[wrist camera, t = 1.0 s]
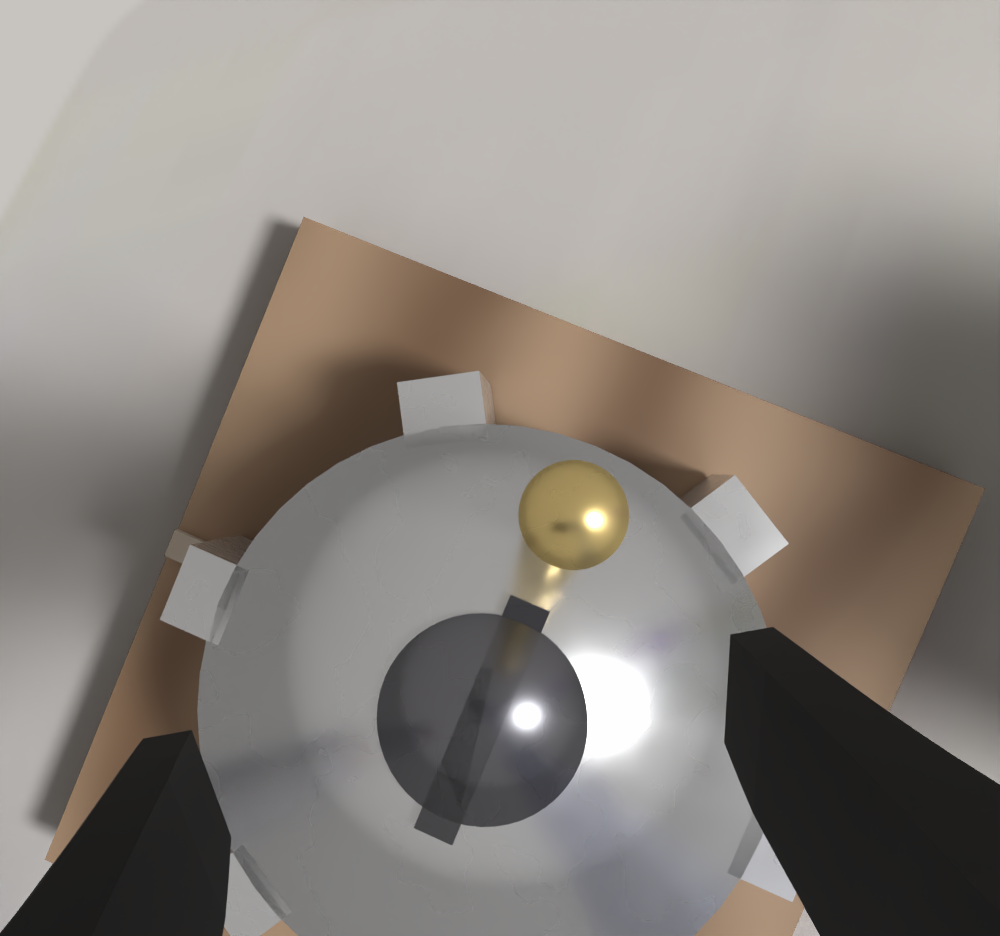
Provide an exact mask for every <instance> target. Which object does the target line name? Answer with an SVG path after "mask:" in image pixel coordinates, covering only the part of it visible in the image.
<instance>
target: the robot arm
mask: <svg viewBox="0 0 1000 936" xmlns="http://www.w3.org/2000/svg"><path fill="white" fill-rule="evenodd" d="M724 744H725V746H726V749H727V751H728V754H729V756H730V759H731V762H732V764H733V767H734V769H735V772H736V774H737V777H738V779H739V782H740V784H741V786H742V789H743V791H744V794H745V796H746V798H747V801H748V803H749V805H750V808H751V810H752V812H753V814H754V816H755V818H756V820H757V822H758V824H759V826H760V828H761V829H762V831H763V833H764V835H765V837H766V839H767V840H768V842H769V844H770V846H771V848H772V850H773V851H774V853H775V855H776V857H777V859H778V861H779V862H780V864H781V866H782V868H783V870H784V871H785V873H786V875H787V877H788V879H789V880H790V882H791V884H792V886H793V888H794V889H795V891H796V893H797V895H798V897H799V898H800V900H801V902H802V904H803V906H804V907H805V909H806V911H807V913H808V915H809V916H810V918H811V920H812V922H813V924H814V925H815V927H816V929H817V931H818V933H819V934H820V936H1000V785H999V784H998V783H996V782H995V781H993V780H991V779H990V778H988V777H987V776H985V775H983V774H982V773H980V772H979V771H977V770H976V769H974V768H972V767H971V766H969V765H968V764H966V763H964V762H963V761H961V760H960V759H958V758H957V757H955V756H953V755H952V754H950V753H949V752H947V751H946V750H944V749H943V748H941V747H940V746H938V745H937V744H935V743H934V742H932V741H931V740H929V739H928V738H926V737H925V736H923V735H922V734H920V733H919V732H917V731H916V730H914V729H913V728H911V727H910V726H909V725H907V724H906V723H904V722H903V721H901V720H900V719H898V718H897V717H896V716H894V715H893V714H891V713H890V712H888V711H887V710H886V709H884V708H883V707H881V706H880V705H879V704H877V703H876V702H874V701H873V700H872V699H870V698H869V697H867V696H866V695H865V694H863V693H862V692H861V691H859V690H858V689H856V688H855V687H854V686H852V685H851V684H850V683H848V682H847V681H846V680H844V679H843V678H841V677H840V676H839V675H837V674H836V673H835V672H833V671H832V670H831V669H829V668H828V667H827V666H825V665H824V664H823V663H821V662H820V661H819V660H817V659H816V658H815V657H813V656H812V655H811V654H809V653H808V652H807V651H805V650H804V649H803V648H801V647H800V646H799V645H797V644H796V643H795V642H793V641H792V640H790V639H789V638H788V637H786V636H785V635H784V634H782V633H781V632H780V631H778V630H777V629H775V628H774V627H769V628H763V629H758V630H752V631H746V632H741V633H735V634H730V648H729V666H728V683H727V700H726V718H725V735H724ZM230 850H231V834H230V832H229V829H228V826H227V824H226V821H225V818H224V815H223V813H222V810H221V807H220V805H219V802H218V799H217V797H216V794H215V791H214V789H213V786H212V783H211V781H210V778H209V775H208V772H207V770H206V767H205V764H204V762H203V759H202V756H201V754H200V751H199V748H198V746H197V743H196V740H195V737H194V735H193V732H192V730H188V731H183V732H177V733H171V734H166V735H160V736H154V737H149V738H143V739H142V741H141V742H140V743H139V744H138V746H137V747H136V748H135V750H134V751H133V752H132V754H131V755H130V757H129V758H128V759H127V761H126V762H125V764H124V765H123V766H122V768H121V769H120V771H119V772H118V773H117V775H116V776H115V778H114V779H113V781H112V782H111V783H110V785H109V786H108V788H107V789H106V791H105V792H104V793H103V795H102V796H101V798H100V799H99V801H98V802H97V803H96V805H95V806H94V808H93V809H92V811H91V812H90V813H89V815H88V816H87V818H86V819H85V820H84V822H83V823H82V825H81V826H80V827H79V829H78V830H77V832H76V833H75V834H74V836H73V837H72V839H71V840H70V841H69V843H68V844H67V845H66V847H65V848H64V850H63V851H62V852H61V854H60V855H59V856H58V858H57V859H56V860H55V862H54V863H53V864H52V866H51V867H50V869H49V870H48V871H47V873H46V874H45V875H44V877H43V878H42V879H41V881H40V882H39V883H38V885H37V886H36V887H35V889H34V890H33V892H32V893H31V894H30V896H29V897H28V898H27V900H26V901H25V902H24V904H23V905H22V906H21V907H20V909H19V910H18V911H17V913H16V914H15V915H14V917H13V918H12V919H11V920H10V922H9V923H8V924H7V925H6V927H5V928H4V929H3V930H2V932H1V933H0V936H222V935H223V929H224V924H225V918H226V906H227V894H228V882H229V866H230Z"/></svg>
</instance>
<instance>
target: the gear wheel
mask: <svg viewBox="0 0 1000 936" xmlns="http://www.w3.org/2000/svg"><path fill="white" fill-rule="evenodd" d="M397 387H398V395H399V402H400V410H401V418H402V426H403V433H404V435H403V436H400V437H397V438H394V439H391V440H388V441H385V442H382V443H379V444H377V445H374V446H371V447H369V448H367V449H365V450H363V451H361V452H359V453H357V454H355V455H353V456H351V457H349V458H347V459H345V460H343V461H341V462H339V463H337V464H336V465H334V466H333V467H332V468H330V469H329V470H327V471H326V472H324V473H323V474H321V475H320V476H318V477H317V478H315V479H314V480H312V481H311V482H310V483H308V484H307V485H306V486H304V487H303V488H302V489H301V490H300V491H299V492H298V493H297V494H296V495H294V496H293V497H292V498H291V499H290V500H289V501H288V502H287V503H285V504H284V505H283V506H282V507H281V508H280V509H279V510H278V511H277V512H276V513H275V515H274V516H273V517H272V518H271V519H270V520H269V522H268V523H267V524H266V525H265V526H264V527H263V529H262V530H261V531H260V532H259V533H258V534H257V536H256V537H255V538H254V540H253V541H252V540H250V539H248V538H245V537H243V536H241V535H236V536H231V537H226V538H221V539H216V540H211V541H206V542H201V543H196V544H191V545H190V546H189V549H188V551H187V554H186V556H185V558H184V561H183V563H182V566H181V568H180V571H179V573H178V576H177V578H176V581H175V583H174V586H173V588H172V591H171V593H170V596H169V598H168V601H167V603H166V606H165V608H164V611H163V613H162V615H161V618H160V620H162V621H164V622H166V623H168V624H170V625H173V626H175V627H177V628H179V629H182V630H184V631H186V632H188V633H191V634H193V635H195V636H197V637H200V638H202V639H204V640H206V644H205V649H204V655H203V660H202V665H201V670H200V678H199V694H198V709H197V713H198V729H199V746H200V753H201V756H202V759H203V762H204V764H205V767H206V770H207V772H208V775H209V778H210V781H211V783H212V786H213V789H214V791H215V794H216V797H217V799H218V802H219V805H220V807H221V810H222V813H223V815H224V818H225V821H226V824H227V826H228V829H229V832H230V834H231V850H230V866H229V882H228V894H227V906H226V918H225V924H224V927H225V929H226V930H227V931H228V933H229V934H230V936H260V935H262V934H263V933H264V932H266V931H267V930H268V929H270V928H271V927H272V926H274V925H275V924H277V923H278V922H279V921H281V920H282V921H283V922H284V923H285V924H286V925H287V926H289V927H290V928H291V929H292V930H293V931H294V932H295V933H296V934H297V935H298V936H694V935H695V934H696V933H697V932H698V931H699V930H700V929H701V928H702V927H703V926H704V924H705V923H706V922H707V921H708V920H709V919H710V918H711V917H712V916H713V915H714V914H715V913H716V912H717V910H718V909H719V908H720V907H721V906H722V904H723V903H724V901H725V900H726V898H727V897H728V896H729V894H730V893H731V891H732V890H733V888H734V887H735V886H736V884H737V883H738V881H739V880H740V879H742V880H744V881H746V882H748V883H751V884H753V885H755V886H757V887H760V888H762V889H764V890H766V891H769V892H771V893H773V894H775V895H777V896H780V897H782V898H784V899H786V900H789V901H791V902H793V900H794V897H795V895H796V891H795V889H794V888H793V886H792V884H791V882H790V880H789V879H788V877H787V875H786V873H785V871H784V870H783V868H782V866H781V864H780V862H779V861H778V859H777V857H776V855H775V853H774V851H773V850H772V848H771V846H770V844H769V842H768V840H767V839H766V837H765V835H764V833H763V831H762V829H761V828H760V826H759V824H758V822H757V820H756V818H755V816H754V814H753V812H752V810H751V808H750V805H749V803H748V801H747V798H746V796H745V794H744V791H743V789H742V786H741V784H740V782H739V779H738V777H737V774H736V772H735V769H734V767H733V764H732V762H731V759H730V756H729V754H728V751H727V749H726V746H725V744H724V735H725V718H726V700H727V683H728V666H729V648H730V634H735V633H741V632H746V631H752V630H758V629H763V628H767V627H766V625H765V622H764V619H763V616H762V613H761V610H760V608H759V606H758V604H757V602H756V600H755V598H754V596H753V594H752V592H751V590H750V588H749V586H748V584H747V582H746V580H745V578H744V577H745V576H746V575H747V574H749V573H750V572H751V571H753V570H754V569H755V568H757V567H758V566H759V565H761V564H762V563H764V562H765V561H766V560H768V559H769V558H770V557H772V556H773V555H774V554H776V553H777V552H778V551H780V550H781V549H782V548H784V547H785V546H786V545H788V544H789V543H788V542H787V541H786V539H785V538H784V537H783V536H782V534H781V533H780V532H779V530H778V529H777V528H776V527H775V525H774V524H773V523H772V522H771V520H770V519H769V518H768V516H767V515H766V514H765V513H764V511H763V510H762V509H761V507H760V506H759V505H758V504H757V502H756V501H755V500H754V499H753V497H752V496H751V495H750V493H749V492H748V491H747V490H746V488H745V487H744V486H743V484H742V483H741V482H740V481H739V479H738V478H737V477H736V476H735V475H718V474H711V475H710V476H708V477H707V478H706V479H704V480H703V481H702V482H700V483H699V484H698V485H696V486H695V487H694V488H692V489H691V490H690V491H688V492H687V493H686V494H684V495H683V496H682V497H680V498H678V497H677V496H676V495H675V494H674V493H673V492H671V491H670V490H669V489H668V488H667V487H666V486H664V485H663V484H662V483H660V482H659V481H657V480H656V479H654V478H653V477H651V476H650V475H648V474H647V473H645V472H644V471H642V470H641V469H639V468H637V467H636V466H634V465H633V464H631V463H630V462H628V461H626V460H623V459H621V458H619V457H617V456H615V455H613V454H611V453H609V452H607V451H605V450H603V449H601V448H599V447H597V446H594V445H591V444H589V443H586V442H583V441H580V440H577V439H574V438H571V437H568V436H565V435H562V434H559V433H554V432H549V431H543V430H538V429H533V428H528V427H523V426H512V425H496V422H495V415H494V407H493V400H492V392H491V384H490V383H489V382H488V381H487V379H486V378H485V377H484V376H483V375H482V374H481V372H480V371H474V372H467V373H459V374H452V375H445V376H438V377H431V378H424V379H417V380H410V381H403V382H397Z"/></svg>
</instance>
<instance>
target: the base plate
mask: <svg viewBox="0 0 1000 936" xmlns="http://www.w3.org/2000/svg"><path fill="white" fill-rule="evenodd" d="M474 371H480V372H481V374H482V375H483V376H484V377H485V378H486V379H487V381H488V382H489V383H490V384H491V392H492V400H493V407H494V415H495V422H496V425H512V426H523V427H528V428H533V429H538V430H543V431H549V432H554V433H559V434H562V435H565V436H568V437H571V438H574V439H577V440H580V441H583V442H586V443H589V444H591V445H594V446H597V447H599V448H601V449H603V450H605V451H607V452H609V453H611V454H613V455H615V456H617V457H619V458H621V459H623V460H626V461H628V462H630V463H631V464H633V465H634V466H636V467H637V468H639V469H641V470H642V471H644V472H645V473H647V474H648V475H650V476H651V477H653V478H654V479H656V480H657V481H659V482H660V483H662V484H663V485H664V486H666V487H667V488H668V489H669V490H670V491H671V492H673V493H674V494H675V495H676V496H677V497H678V498H680V497H682V496H683V495H684V494H686V493H687V492H688V491H690V490H691V489H692V488H694V487H695V486H696V485H698V484H699V483H700V482H702V481H703V480H704V479H706V478H707V477H708V476H710V475H711V474H718V475H735V476H736V477H737V478H738V479H739V481H740V482H741V483H742V484H743V486H744V487H745V488H746V490H747V491H748V492H749V493H750V495H751V496H752V497H753V499H754V500H755V501H756V502H757V504H758V505H759V506H760V507H761V509H762V510H763V511H764V513H765V514H766V515H767V516H768V518H769V519H770V520H771V522H772V523H773V524H774V525H775V527H776V528H777V529H778V530H779V532H780V533H781V534H782V536H783V537H784V538H785V539H786V541H787V542H788V543H789V544H788V545H786V546H785V547H784V548H782V549H781V550H780V551H778V552H777V553H776V554H774V555H773V556H772V557H770V558H769V559H768V560H766V561H765V562H764V563H762V564H761V565H759V566H758V567H757V568H755V569H754V570H753V571H751V572H750V573H749V574H747V575H746V576H745V577H744V578H745V580H746V582H747V584H748V586H749V588H750V590H751V592H752V594H753V596H754V598H755V600H756V602H757V604H758V606H759V608H760V610H761V613H762V616H763V619H764V622H765V625H766V627H767V628H769V627H774V628H775V629H777V630H778V631H780V632H781V633H782V634H784V635H785V636H786V637H788V638H789V639H790V640H792V641H793V642H795V643H796V644H797V645H799V646H800V647H801V648H803V649H804V650H805V651H807V652H808V653H809V654H811V655H812V656H813V657H815V658H816V659H817V660H819V661H820V662H821V663H823V664H824V665H825V666H827V667H828V668H829V669H831V670H832V671H833V672H835V673H836V674H837V675H839V676H840V677H841V678H843V679H844V680H846V681H847V682H848V683H850V684H851V685H852V686H854V687H855V688H856V689H858V690H859V691H861V692H862V693H863V694H865V695H866V696H867V697H869V698H870V699H872V700H873V701H874V702H876V703H877V704H879V705H880V706H881V707H883V708H884V709H886V710H887V711H888V712H889V710H890V708H891V706H892V703H893V701H894V699H895V696H896V694H897V692H898V689H899V687H900V685H901V683H902V680H903V678H904V676H905V673H906V671H907V669H908V666H909V664H910V662H911V659H912V657H913V655H914V652H915V650H916V648H917V645H918V643H919V641H920V639H921V636H922V634H923V632H924V629H925V627H926V625H927V622H928V620H929V618H930V615H931V613H932V611H933V608H934V606H935V604H936V601H937V599H938V597H939V595H940V592H941V590H942V588H943V585H944V583H945V581H946V578H947V576H948V574H949V571H950V569H951V567H952V564H953V562H954V560H955V558H956V555H957V553H958V551H959V548H960V546H961V544H962V541H963V539H964V537H965V534H966V532H967V530H968V527H969V525H970V523H971V520H972V518H973V516H974V514H975V511H976V509H977V507H978V504H979V502H980V500H981V497H982V495H983V493H984V490H985V488H982V487H980V486H977V485H975V484H972V483H970V482H967V481H965V480H962V479H960V478H957V477H955V476H952V475H950V474H947V473H945V472H942V471H940V470H937V469H935V468H932V467H930V466H927V465H925V464H922V463H920V462H917V461H915V460H912V459H909V458H907V457H904V456H902V455H899V454H897V453H894V452H892V451H889V450H887V449H884V448H882V447H879V446H877V445H874V444H872V443H869V442H867V441H864V440H862V439H859V438H857V437H854V436H852V435H849V434H847V433H844V432H842V431H839V430H837V429H834V428H832V427H829V426H827V425H824V424H822V423H819V422H817V421H814V420H812V419H809V418H807V417H804V416H802V415H799V414H797V413H794V412H792V411H789V410H787V409H784V408H782V407H779V406H777V405H774V404H772V403H769V402H767V401H764V400H762V399H759V398H757V397H754V396H752V395H749V394H746V393H744V392H741V391H739V390H736V389H734V388H731V387H729V386H726V385H724V384H721V383H719V382H716V381H714V380H711V379H709V378H706V377H704V376H701V375H699V374H696V373H694V372H691V371H689V370H686V369H684V368H681V367H679V366H676V365H674V364H671V363H669V362H666V361H664V360H661V359H659V358H656V357H654V356H651V355H649V354H646V353H644V352H641V351H639V350H636V349H634V348H631V347H629V346H626V345H624V344H621V343H619V342H616V341H614V340H611V339H609V338H606V337H604V336H601V335H599V334H596V333H594V332H591V331H589V330H586V329H584V328H581V327H578V326H576V325H573V324H571V323H568V322H566V321H563V320H561V319H558V318H556V317H553V316H551V315H548V314H546V313H543V312H541V311H538V310H536V309H533V308H531V307H528V306H526V305H523V304H521V303H518V302H516V301H513V300H511V299H508V298H506V297H503V296H501V295H498V294H496V293H493V292H491V291H488V290H486V289H483V288H481V287H478V286H476V285H473V284H471V283H468V282H466V281H463V280H461V279H458V278H456V277H453V276H451V275H448V274H446V273H443V272H441V271H438V270H436V269H433V268H431V267H428V266H426V265H423V264H421V263H418V262H415V261H413V260H410V259H408V258H405V257H403V256H400V255H398V254H395V253H393V252H390V251H388V250H385V249H383V248H380V247H378V246H375V245H373V244H370V243H368V242H365V241H363V240H360V239H358V238H355V237H353V236H350V235H348V234H345V233H343V232H340V231H338V230H335V229H333V228H330V227H328V226H325V225H323V224H320V223H318V222H315V221H313V220H310V219H308V218H305V217H304V218H303V220H302V223H301V225H300V228H299V230H298V233H297V235H296V238H295V240H294V243H293V245H292V247H291V250H290V252H289V255H288V257H287V260H286V262H285V265H284V267H283V270H282V272H281V275H280V277H279V280H278V282H277V285H276V287H275V290H274V292H273V295H272V297H271V300H270V302H269V305H268V307H267V310H266V312H265V315H264V317H263V319H262V322H261V324H260V327H259V329H258V332H257V334H256V337H255V339H254V342H253V344H252V347H251V349H250V352H249V354H248V357H247V359H246V362H245V364H244V367H243V369H242V372H241V374H240V377H239V379H238V382H237V384H236V387H235V389H234V392H233V394H232V396H231V399H230V401H229V404H228V406H227V409H226V411H225V414H224V416H223V419H222V421H221V424H220V426H219V429H218V431H217V434H216V436H215V439H214V441H213V444H212V446H211V449H210V451H209V454H208V456H207V459H206V461H205V464H204V466H203V469H202V471H201V473H200V476H199V478H198V481H197V483H196V486H195V488H194V491H193V493H192V496H191V498H190V501H189V503H188V506H187V508H186V511H185V513H184V516H183V518H182V521H181V523H180V526H179V528H178V529H176V530H174V533H173V535H172V538H171V540H170V543H169V545H168V548H167V550H166V553H165V555H164V556H166V557H167V558H166V560H165V563H164V565H163V568H162V570H161V573H160V575H159V578H158V580H157V583H156V585H155V588H154V590H153V593H152V595H151V598H150V600H149V603H148V605H147V608H146V610H145V613H144V615H143V618H142V620H141V622H140V625H139V627H138V630H137V632H136V635H135V637H134V640H133V642H132V645H131V647H130V650H129V652H128V655H127V657H126V660H125V662H124V665H123V667H122V670H121V672H120V675H119V677H118V680H117V682H116V685H115V687H114V690H113V692H112V694H111V697H110V699H109V702H108V704H107V707H106V709H105V712H104V714H103V717H102V719H101V722H100V724H99V727H98V729H97V732H96V734H95V737H94V739H93V742H92V744H91V747H90V749H89V752H88V754H87V757H86V759H85V762H84V764H83V767H82V769H81V771H80V774H79V776H78V779H77V781H76V784H75V786H74V789H73V791H72V794H71V796H70V799H69V801H68V804H67V806H66V809H65V811H64V814H63V816H62V819H61V821H60V824H59V826H58V829H57V831H56V834H55V836H54V839H53V841H52V844H51V846H50V848H49V851H48V853H47V856H46V858H45V860H47V861H49V862H51V863H54V862H55V860H56V859H57V858H58V856H59V855H60V854H61V852H62V851H63V850H64V848H65V847H66V845H67V844H68V843H69V841H70V840H71V839H72V837H73V836H74V834H75V833H76V832H77V830H78V829H79V827H80V826H81V825H82V823H83V822H84V820H85V819H86V818H87V816H88V815H89V813H90V812H91V811H92V809H93V808H94V806H95V805H96V803H97V802H98V801H99V799H100V798H101V796H102V795H103V793H104V792H105V791H106V789H107V788H108V786H109V785H110V783H111V782H112V781H113V779H114V778H115V776H116V775H117V773H118V772H119V771H120V769H121V768H122V766H123V765H124V764H125V762H126V761H127V759H128V758H129V757H130V755H131V754H132V752H133V751H134V750H135V748H136V747H137V746H138V744H139V743H140V742H141V741H142V739H143V738H149V737H154V736H160V735H166V734H171V733H177V732H183V731H188V730H192V732H193V735H194V737H195V740H196V743H197V746H198V748H199V751H200V746H199V729H198V713H197V709H198V694H199V678H200V670H201V665H202V660H203V655H204V649H205V644H206V640H204V639H202V638H200V637H197V636H195V635H193V634H191V633H188V632H186V631H184V630H182V629H179V628H177V627H175V626H173V625H170V624H168V623H166V622H164V621H162V620H160V618H161V615H162V613H163V611H164V608H165V606H166V603H167V601H168V598H169V596H170V593H171V591H172V588H173V586H174V583H175V581H176V578H177V576H178V573H179V571H180V568H181V566H182V563H183V561H184V558H185V556H186V554H187V551H188V549H189V546H190V545H191V544H196V543H201V542H206V541H211V540H216V539H221V538H226V537H231V536H236V535H241V536H243V537H245V538H248V539H250V540H252V541H253V540H254V538H255V537H256V536H257V534H258V533H259V532H260V531H261V530H262V529H263V527H264V526H265V525H266V524H267V523H268V522H269V520H270V519H271V518H272V517H273V516H274V515H275V513H276V512H277V511H278V510H279V509H280V508H281V507H282V506H283V505H284V504H285V503H287V502H288V501H289V500H290V499H291V498H292V497H293V496H294V495H296V494H297V493H298V492H299V491H300V490H301V489H302V488H303V487H304V486H306V485H307V484H308V483H310V482H311V481H312V480H314V479H315V478H317V477H318V476H320V475H321V474H323V473H324V472H326V471H327V470H329V469H330V468H332V467H333V466H334V465H336V464H337V463H339V462H341V461H343V460H345V459H347V458H349V457H351V456H353V455H355V454H357V453H359V452H361V451H363V450H365V449H367V448H369V447H371V446H374V445H377V444H379V443H382V442H385V441H388V440H391V439H394V438H397V437H400V436H403V435H404V433H403V426H402V418H401V410H400V402H399V395H398V387H397V382H403V381H410V380H417V379H424V378H431V377H438V376H445V375H452V374H459V373H467V372H474ZM200 754H201V753H200ZM803 909H804V906H803V904H802V902H801V900H800V898H799V897H798V895H797V893H796V895H795V897H794V900H793V902H791V901H789V900H786V899H784V898H782V897H780V896H777V895H775V894H773V893H771V892H769V891H766V890H764V889H762V888H760V887H757V886H755V885H753V884H751V883H748V882H746V881H744V880H742V879H740V880H739V881H738V883H737V884H736V886H735V887H734V888H733V890H732V891H731V893H730V894H729V896H728V897H727V898H726V900H725V901H724V903H723V904H722V906H721V907H720V908H719V909H718V910H717V912H716V913H715V914H714V915H713V916H712V917H711V918H710V919H709V920H708V921H707V922H706V923H705V924H704V926H703V927H702V928H701V929H700V930H699V931H698V932H697V933H696V934H695V935H694V936H792V935H793V933H794V930H795V928H796V926H797V923H798V921H799V919H800V916H801V914H802V912H803ZM222 936H230V934H229V933H228V931H227V930H226V929H225V927H224V929H223V935H222ZM260 936H298V935H297V934H296V933H295V932H294V931H293V930H292V929H291V928H290V927H289V926H287V925H286V924H285V923H284V922H283V921H282V920H281V921H279V922H278V923H277V924H275V925H274V926H272V927H271V928H270V929H268V930H267V931H266V932H264V933H263V934H262V935H260Z"/></svg>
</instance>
